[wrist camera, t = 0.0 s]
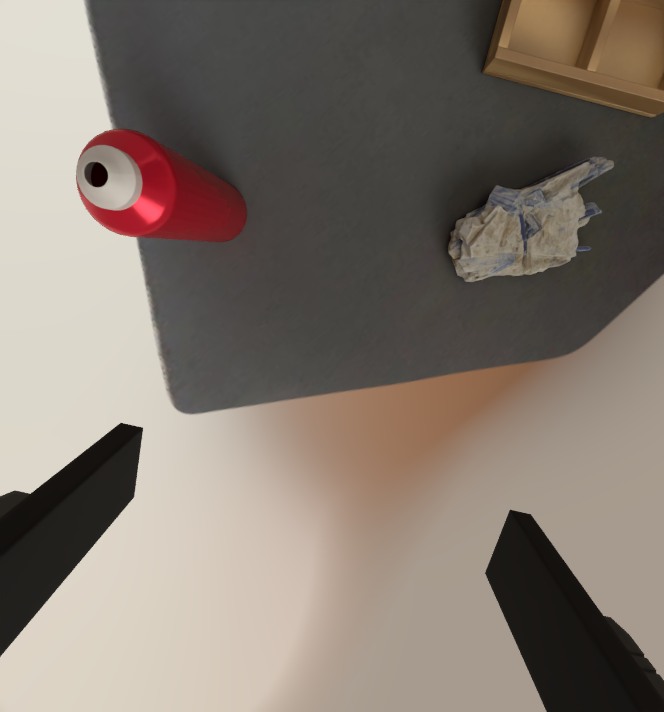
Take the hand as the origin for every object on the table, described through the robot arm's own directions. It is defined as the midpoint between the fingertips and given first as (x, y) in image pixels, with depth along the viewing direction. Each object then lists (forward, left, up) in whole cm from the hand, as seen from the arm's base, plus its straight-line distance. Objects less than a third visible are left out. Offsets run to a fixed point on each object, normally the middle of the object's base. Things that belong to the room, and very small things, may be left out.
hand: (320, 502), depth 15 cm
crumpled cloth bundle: (-14, +15, -28) cm, 35 cm away
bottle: (-9, -13, -28) cm, 33 cm away
